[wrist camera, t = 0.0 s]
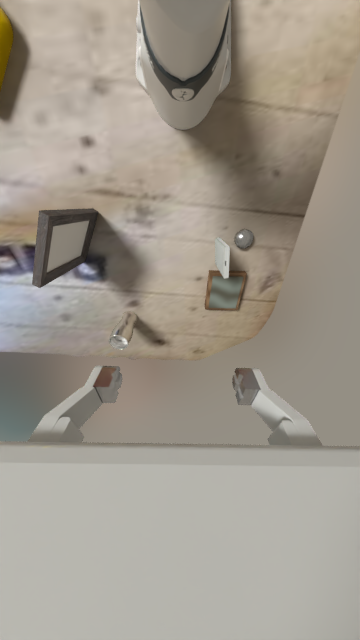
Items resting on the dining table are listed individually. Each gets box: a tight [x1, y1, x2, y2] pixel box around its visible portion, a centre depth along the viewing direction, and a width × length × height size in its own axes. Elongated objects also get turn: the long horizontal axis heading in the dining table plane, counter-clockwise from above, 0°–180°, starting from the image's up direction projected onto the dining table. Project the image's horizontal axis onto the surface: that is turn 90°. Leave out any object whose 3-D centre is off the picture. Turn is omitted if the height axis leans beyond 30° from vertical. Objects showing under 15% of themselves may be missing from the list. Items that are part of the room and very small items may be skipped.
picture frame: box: [32, 208, 98, 288], centre depth 41 cm, size 16×2×21 cm, turn 148°
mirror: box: [205, 270, 247, 310], centre depth 58 cm, size 14×12×3 cm
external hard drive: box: [215, 238, 230, 279], centre depth 47 cm, size 2×8×12 cm, turn 8°
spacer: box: [234, 229, 253, 249], centre depth 49 cm, size 5×5×2 cm
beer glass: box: [108, 311, 137, 350], centre depth 60 cm, size 7×7×15 cm
